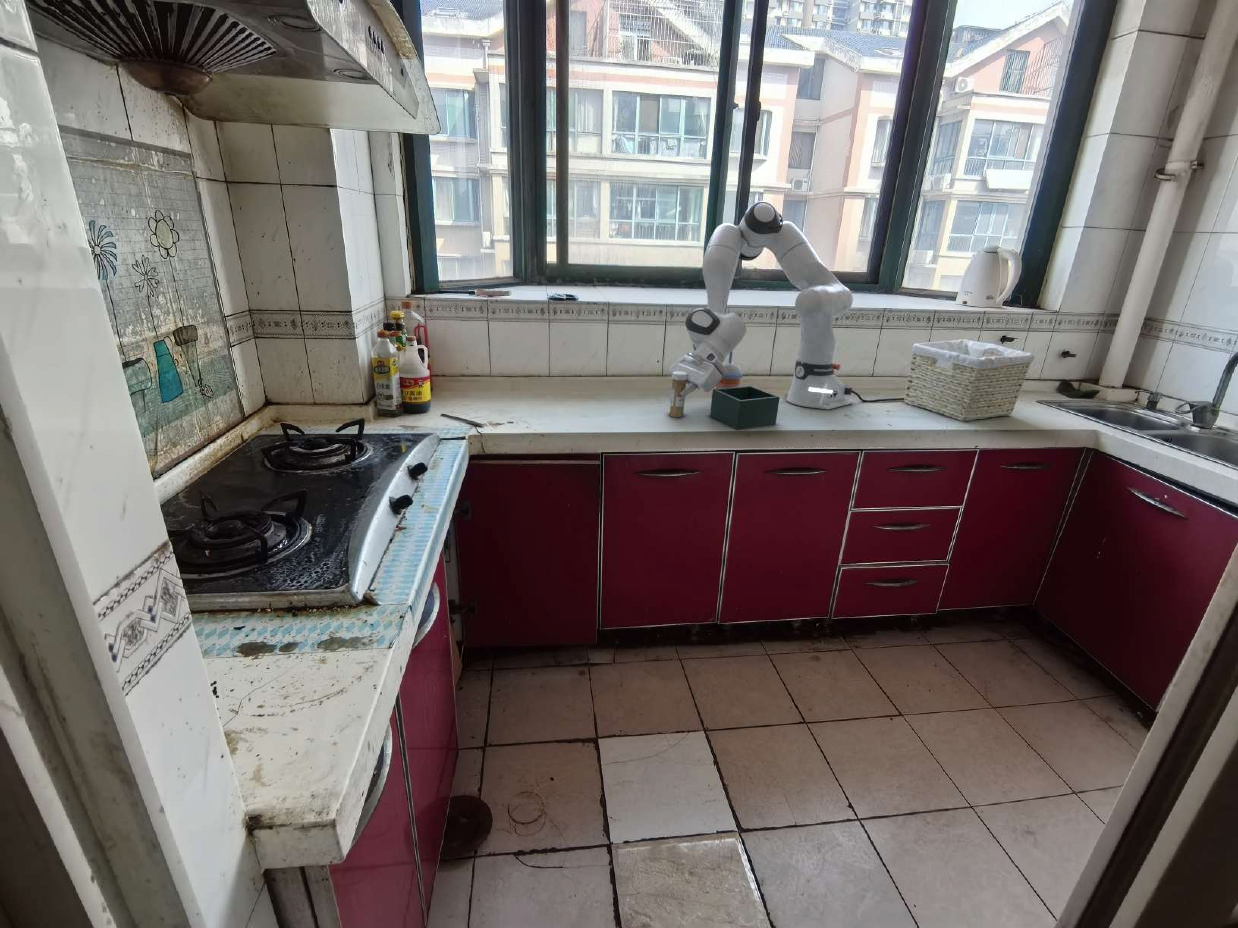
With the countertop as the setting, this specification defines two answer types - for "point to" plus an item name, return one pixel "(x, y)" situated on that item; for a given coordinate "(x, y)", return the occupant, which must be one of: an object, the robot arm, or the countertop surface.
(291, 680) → the countertop surface
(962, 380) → the basket
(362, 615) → the countertop surface
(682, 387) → the sprinkles bottle
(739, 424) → the bin
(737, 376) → the cup with straw
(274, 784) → the countertop surface
